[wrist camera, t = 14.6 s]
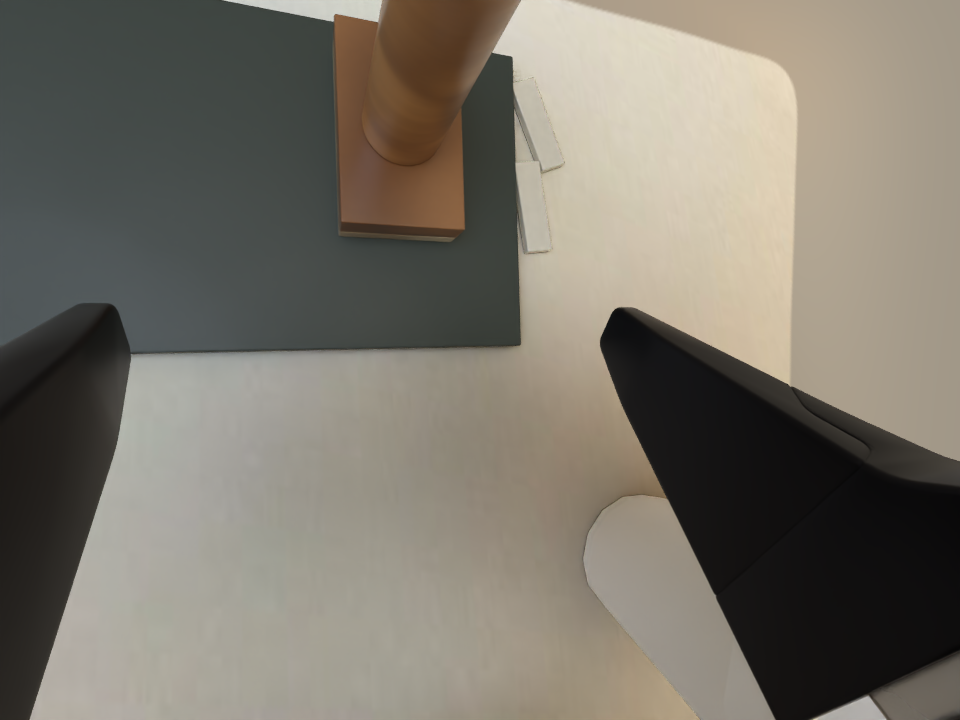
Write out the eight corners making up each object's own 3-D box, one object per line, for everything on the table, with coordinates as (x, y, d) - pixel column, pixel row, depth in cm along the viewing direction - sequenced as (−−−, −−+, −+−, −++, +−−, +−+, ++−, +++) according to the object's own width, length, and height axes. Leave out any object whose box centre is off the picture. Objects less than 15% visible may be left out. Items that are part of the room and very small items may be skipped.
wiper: (445, 68, 22) (612, -313, 9) (451, 242, 22) (624, 86, 10) (332, 48, 20) (355, -443, 8) (338, 236, 20) (370, 39, 8)
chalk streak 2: (534, 164, 24) (539, 160, 24) (548, 251, 25) (552, 249, 24) (510, 165, 24) (514, 161, 23) (524, 254, 24) (528, 251, 24)
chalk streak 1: (529, 82, 24) (534, 76, 24) (560, 166, 25) (565, 163, 24) (506, 87, 24) (510, 82, 23) (538, 174, 24) (543, 170, 24)
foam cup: (667, 437, 27) (961, 499, 15) (721, 574, 28) (1036, 738, 16) (529, 525, 24) (751, 694, 12) (596, 673, 25) (861, 967, 13)
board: (505, 68, 24) (513, 56, 23) (513, 346, 24) (521, 345, 23) (-74, -39, 17) (-98, -63, 16) (-61, 358, 17) (-84, 357, 16)
